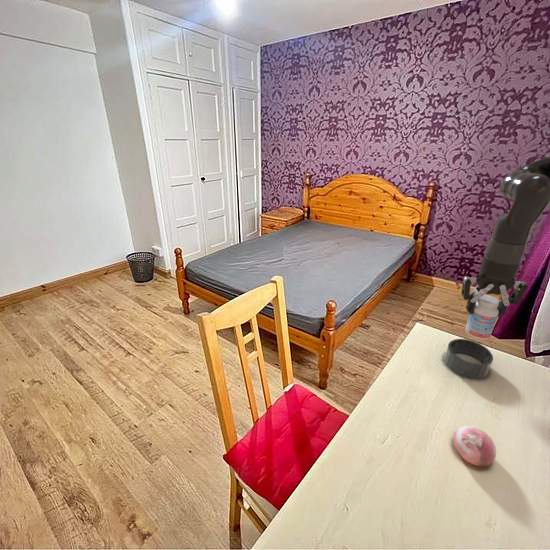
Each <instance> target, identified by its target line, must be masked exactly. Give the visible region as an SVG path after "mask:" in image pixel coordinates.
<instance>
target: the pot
mask: <svg viewBox="0 0 550 550" xmlns="http://www.w3.org/2000/svg"><path fill="white" fill-rule="evenodd" d="M457 354H464V355H466V356H467V355H468V356H470V357H472V358H474V359H476V360H477V361H479V363H474V362H470V361H467V360H465V359H462V358H461V357H459V356H458V355H457ZM493 356H494V355H493V353H492V352H491V351H490V350H489V348H487V347H486V346H484V345H483V344H481V343H480V342H477V341H474V340H471V339H467V338H455V339H452V340H451V341H449V343H448V344H447V347H446V351H445V354H444V363H445V365H446V366H447V367H448V368H449V369H450V370H451V372H454V373H455V374H457V375H459V376H461V377H464V378H467V379H471V380H472V379H473V380H479V379H484V378H486V377H487V376H488V374H489V371H490V369H491V366H492V365H493V361H494V357H493Z"/></svg>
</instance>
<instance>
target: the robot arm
mask: <svg viewBox="0 0 550 550" xmlns="http://www.w3.org/2000/svg"><path fill="white" fill-rule="evenodd" d="M499 193H500V196H501V197H502V198H504V199H505V200H507V201H509V202H510V203H512V205H511V206H510V209H509V211H508V212H504V213H502V214H500V215H499V216H498V217H497V218H496V220H495V223H494V226H493V229H492V233H491V236H490V239H489V241H488V243H487V245H486V248H485V251H484V255H483V258H482V260H481V264H480V267H479V273H478V274H477V275H476V276H473V277H472V276H471V277H470V276H469V275H464V276H463V277H462V285H461V292H460V293H461V296H462V298H463V299H464V300H465V301H467V302H466V306H465V309H466V311H467V313H468V314H469V315H470V314H473V312H474V308H475V305H476V303H477V300H478V299H479V298H480V297H483V296H484V295H495V296H499V298H500V300H499V304H498V307H497V309H498V310H499V314H498V317H497V318H502V317H503V316H505V315H506V313H507V309H508V307H509V306H510V305H514V306H515V305H516V306H517V305H518V304H519V303H520V302H521V300H522V298H523V296H524V295H525V293H526V291H527V289H528V287H529V285H528V284H527V283H526V282H525V281H524V280H522V279H520V280H515V279H516V277H517V275H518V272H519V269H520V267H521V264H522V261H523V259H524V256H525V254H526V253H525V252H526V249H527V244H528V241H529V239H530V235H531V232H532V229H533V227H534V225H535V224H536V222H537V221H538V220H539V218H540V217H541V215H542V214H543V213H544V211H545V210H546V208H547V207H548V206H549V205H550V155H549V156H546V157H543V158H540V159H538V160H535V161H533V162H530V163H528V164H524V165H523V166H520V167H518V168H515V170H512V171H511V172H510V173H509V174H507V175H506V176H505V177H504V178H503V180H501V183H500V184H499ZM475 283H476V284H477V285H476V286H474V288H473V290H472V291H471V287H472V286H473V285H474V284H475ZM511 288H513V290H512V292H511V294H510V296H509V294H508V290H510V289H511Z"/></svg>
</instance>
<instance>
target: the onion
mask: <svg viewBox="0 0 550 550" xmlns="http://www.w3.org/2000/svg"><path fill="white" fill-rule="evenodd" d="M452 441H453V445H454V448H455V450H456V452H457V453H458V454H459V456H460V457H461V458H462V459H463V460H464V461H466V462H467V463H468V464H471V465H473V466H475V467H488V466H490V465H491V464H492V463H493V462H494V461H495V459H496V458H497V446H496V444H495V442H494V440H493V439H492V437H491V436H490V435H489V434H488V433H487V432H486V431H485V430H483V429H481V428H479V427H476V426H473V425H463V426H460V427H459V428H457V430H455V431H454V434H453V436H452Z"/></svg>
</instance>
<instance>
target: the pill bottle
mask: <svg viewBox="0 0 550 550" xmlns="http://www.w3.org/2000/svg"><path fill="white" fill-rule="evenodd" d="M499 301H500V300H499V298H496V297H495V296H493V295H490V294H485V295H484V296H483V297H480V298H479V299H478V300H477V301H476V305H475V308H474V312H473V314H469V315H468V318H467V322H466V325H465V328H464V330H465V333H466V334H467V335H468V336H469V337H471V338H473V339H475V340H476V339H477V340H482V341H483V340H488V339H490V338H491V335H492V333H493V330H494V328H495V325H496V322H497V320H498V318H499V317H498V314H499V310H498V309H497V307H498V304H499Z"/></svg>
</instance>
